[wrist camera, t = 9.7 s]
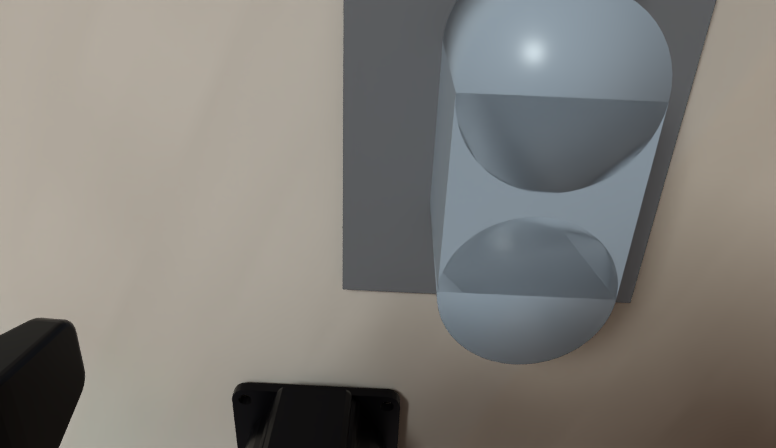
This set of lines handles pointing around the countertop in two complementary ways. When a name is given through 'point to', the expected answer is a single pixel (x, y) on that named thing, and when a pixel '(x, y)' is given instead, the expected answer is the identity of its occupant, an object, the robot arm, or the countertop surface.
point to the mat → (418, 128)
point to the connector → (541, 167)
